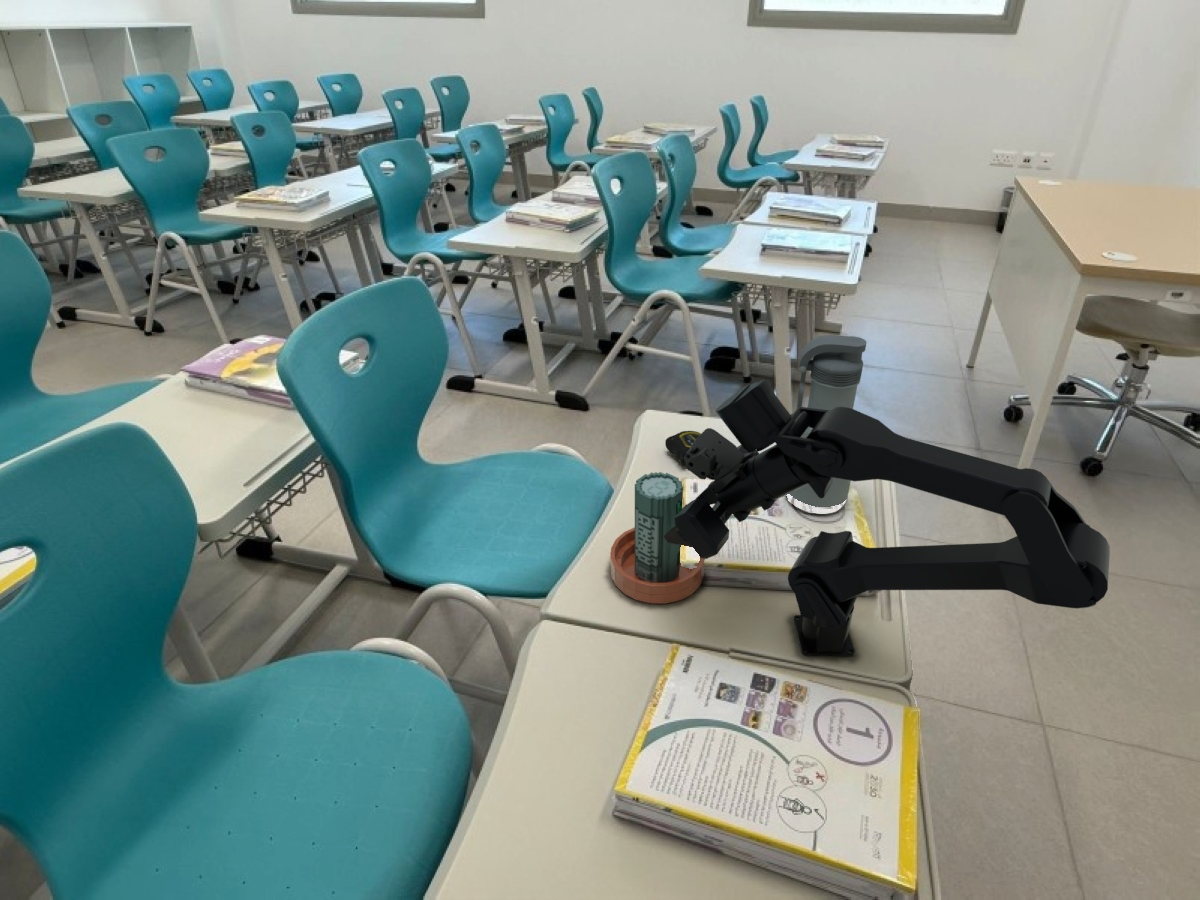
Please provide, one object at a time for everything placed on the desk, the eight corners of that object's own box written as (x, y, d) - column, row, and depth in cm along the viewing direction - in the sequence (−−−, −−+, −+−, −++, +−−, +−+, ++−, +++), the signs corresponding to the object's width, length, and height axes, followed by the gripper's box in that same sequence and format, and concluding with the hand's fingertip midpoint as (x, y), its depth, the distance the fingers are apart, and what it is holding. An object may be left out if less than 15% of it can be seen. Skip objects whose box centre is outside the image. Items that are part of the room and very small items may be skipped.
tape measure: (663, 451, 131) (663, 433, 129) (697, 443, 133) (697, 425, 131) (680, 470, 125) (681, 452, 123) (715, 462, 127) (716, 444, 125)
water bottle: (779, 512, 115) (801, 351, 100) (783, 478, 123) (804, 324, 108) (846, 521, 112) (879, 357, 97) (846, 486, 120) (876, 329, 105)
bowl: (706, 605, 98) (708, 586, 96) (609, 604, 98) (609, 585, 96) (699, 543, 109) (700, 524, 107) (612, 542, 109) (611, 523, 108)
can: (686, 568, 104) (691, 483, 96) (660, 591, 100) (663, 504, 92) (653, 551, 107) (654, 467, 99) (627, 572, 103) (626, 487, 95)
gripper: (758, 389, 91) (677, 440, 102) (694, 459, 78) (608, 509, 89) (811, 458, 92) (724, 501, 103) (755, 539, 79) (663, 579, 90)
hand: (682, 519), depth 96 cm, fingers open, 9 cm apart
